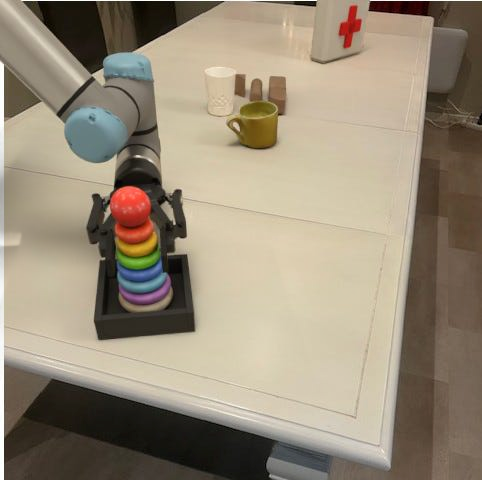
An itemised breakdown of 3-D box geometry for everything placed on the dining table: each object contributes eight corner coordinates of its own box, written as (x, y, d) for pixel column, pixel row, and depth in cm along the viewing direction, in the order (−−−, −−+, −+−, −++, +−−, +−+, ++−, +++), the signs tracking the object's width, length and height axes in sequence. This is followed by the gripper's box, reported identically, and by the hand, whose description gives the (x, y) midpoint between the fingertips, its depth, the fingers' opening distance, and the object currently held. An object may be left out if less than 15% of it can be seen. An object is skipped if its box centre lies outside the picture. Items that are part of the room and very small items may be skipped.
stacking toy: (122, 283, 75) (101, 172, 62) (174, 282, 76) (164, 171, 63) (116, 318, 69) (92, 204, 56) (172, 317, 70) (161, 203, 57)
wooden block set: (286, 71, 137) (287, 94, 124) (284, 92, 141) (285, 116, 128) (226, 68, 137) (221, 91, 124) (226, 89, 141) (221, 113, 128)
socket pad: (98, 340, 67) (93, 320, 65) (103, 278, 77) (99, 260, 74) (195, 331, 69) (193, 312, 66) (188, 272, 79) (187, 253, 76)
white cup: (207, 105, 132) (206, 66, 125) (235, 106, 131) (236, 67, 125) (204, 116, 126) (203, 76, 119) (234, 117, 126) (235, 77, 119)
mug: (276, 122, 119) (273, 88, 110) (284, 152, 114) (282, 118, 106) (227, 133, 120) (221, 99, 111) (234, 163, 115) (227, 130, 106)
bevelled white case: (326, 65, 159) (335, -5, 146) (308, 60, 164) (315, -10, 150) (364, 54, 170) (377, -13, 156) (346, 49, 174) (357, -17, 160)
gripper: (198, 196, 82) (212, 283, 65) (82, 202, 80) (66, 294, 63) (196, 154, 77) (211, 237, 60) (72, 160, 74) (52, 247, 58)
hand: (137, 266), depth 62 cm, fingers open, 6 cm apart
